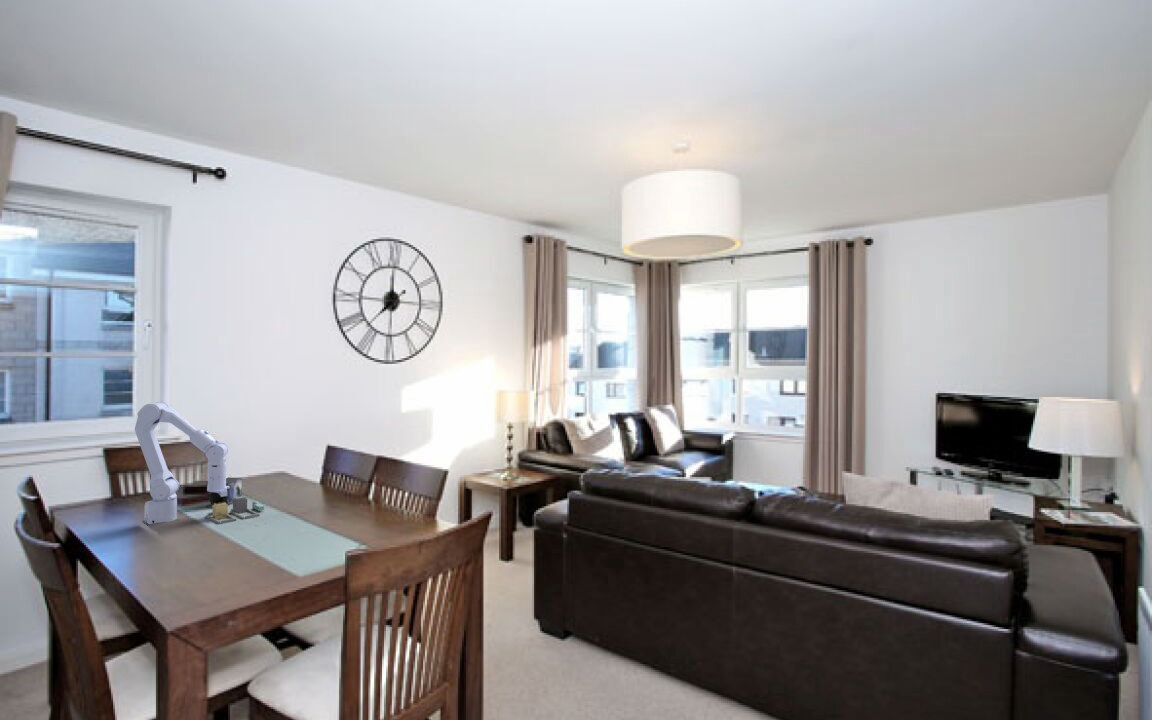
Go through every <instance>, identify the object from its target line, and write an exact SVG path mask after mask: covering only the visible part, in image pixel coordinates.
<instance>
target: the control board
mask: <svg viewBox="0 0 1152 720" xmlns="http://www.w3.org/2000/svg"><path fill="white" fill-rule="evenodd" d="M247 512H248V513H250V514H248V515H245V516H244V515H241V513H236V512H234V511H233V508H230V510H229V513H227V518H228V519H227V518H226V519H224V520H223V519H221V521H220V519H218V520H217V519H215V518H213V517H212V511H211V512H207V514H205V518H207V519H209V520H211V521H213V522H214V523H216V524H218V525H220V524H228V523H233V522H236V521H237V518H236V517H238V519H242V520H247V519H253V518H258V517H260V516H261V514H260V513H258V512H257V511H255V510H251V509H250V508H248V507H247ZM230 514H232V515H233V516H232V515H230ZM234 516H236V517H234Z"/></svg>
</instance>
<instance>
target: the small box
mask: <svg viewBox="0 0 1152 720" xmlns="http://www.w3.org/2000/svg"><path fill="white" fill-rule="evenodd" d="M226 486H229V487H230V488H229V489H227V496H226V498H225V500H224V502H226V504H228V506H230V505H233V499H234V498H236V497H242V496H243V495H242V494H243V478H242V477H232V476H231V477H230V476H228V477H226Z"/></svg>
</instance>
